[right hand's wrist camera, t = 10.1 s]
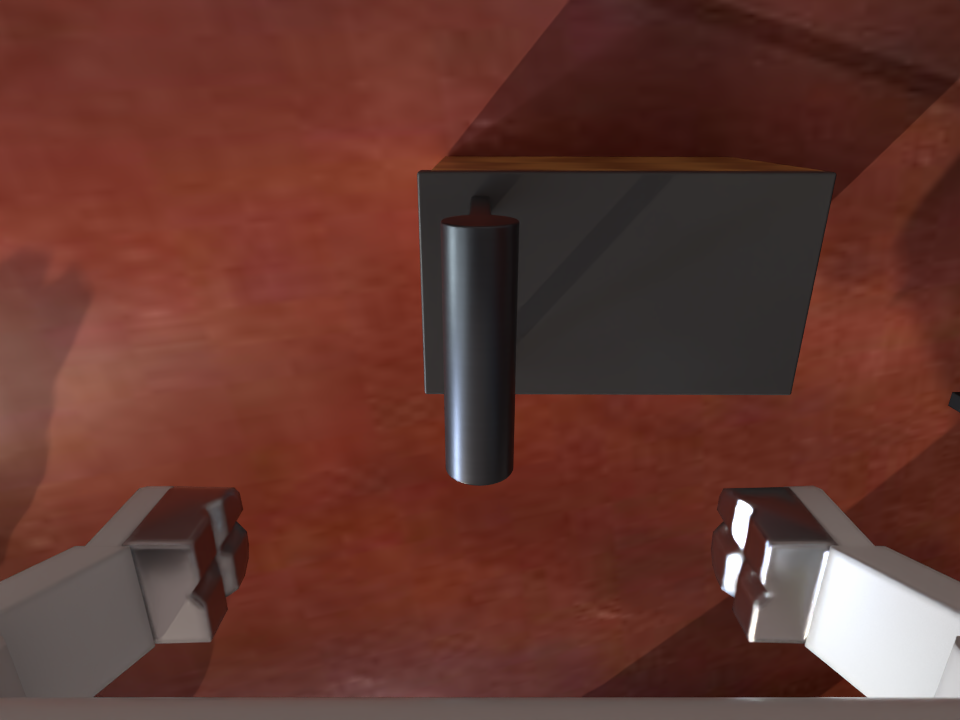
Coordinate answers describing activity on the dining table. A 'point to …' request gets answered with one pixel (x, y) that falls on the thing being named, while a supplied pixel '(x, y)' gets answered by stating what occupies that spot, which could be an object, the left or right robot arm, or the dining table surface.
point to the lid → (608, 289)
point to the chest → (611, 164)
